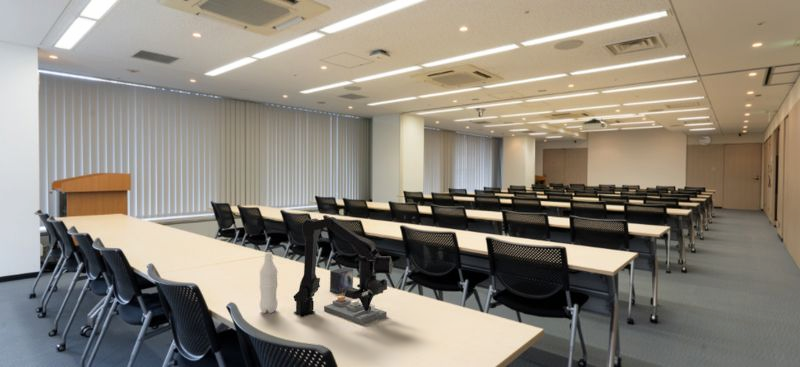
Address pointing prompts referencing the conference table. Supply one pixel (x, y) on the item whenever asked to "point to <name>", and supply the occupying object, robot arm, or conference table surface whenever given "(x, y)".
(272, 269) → the water bottle
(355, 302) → the white button
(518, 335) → the conference table surface
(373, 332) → the conference table surface
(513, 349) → the conference table surface
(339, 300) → the orange button
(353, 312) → the control panel
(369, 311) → the block
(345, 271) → the small box
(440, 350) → the conference table surface
